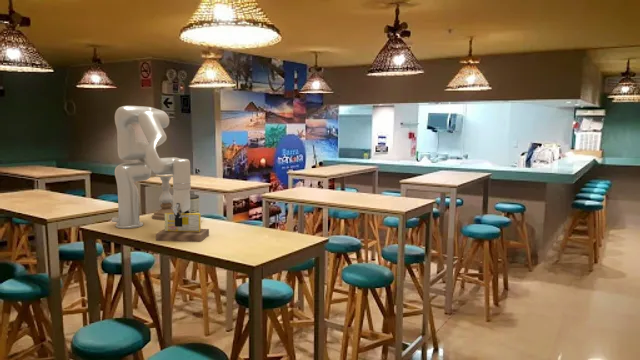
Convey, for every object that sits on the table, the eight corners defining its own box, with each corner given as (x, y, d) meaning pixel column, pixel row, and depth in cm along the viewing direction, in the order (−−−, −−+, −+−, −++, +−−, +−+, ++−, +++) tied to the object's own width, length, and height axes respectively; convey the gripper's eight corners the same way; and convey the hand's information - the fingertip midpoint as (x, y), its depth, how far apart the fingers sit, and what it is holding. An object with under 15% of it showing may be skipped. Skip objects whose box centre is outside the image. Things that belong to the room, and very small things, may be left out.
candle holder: (166, 215, 258) (165, 173, 255) (181, 217, 253) (180, 174, 251) (151, 218, 248) (150, 174, 246) (166, 220, 244) (165, 176, 241)
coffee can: (175, 223, 238) (174, 196, 236) (186, 219, 247) (186, 193, 246) (192, 225, 235) (191, 197, 233) (203, 221, 244) (202, 194, 243)
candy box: (201, 231, 208) (200, 213, 207) (199, 232, 206) (199, 214, 205) (166, 230, 209) (166, 212, 208) (164, 231, 207) (164, 213, 206)
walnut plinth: (155, 240, 202) (155, 233, 202) (166, 234, 214) (166, 227, 214) (200, 241, 201) (200, 235, 201) (208, 235, 213) (208, 229, 213)
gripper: (180, 183, 214) (181, 220, 216) (165, 188, 197) (166, 228, 199) (196, 184, 213) (197, 220, 215) (183, 189, 196) (183, 228, 198)
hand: (182, 224), depth 207 cm, fingers open, 9 cm apart
